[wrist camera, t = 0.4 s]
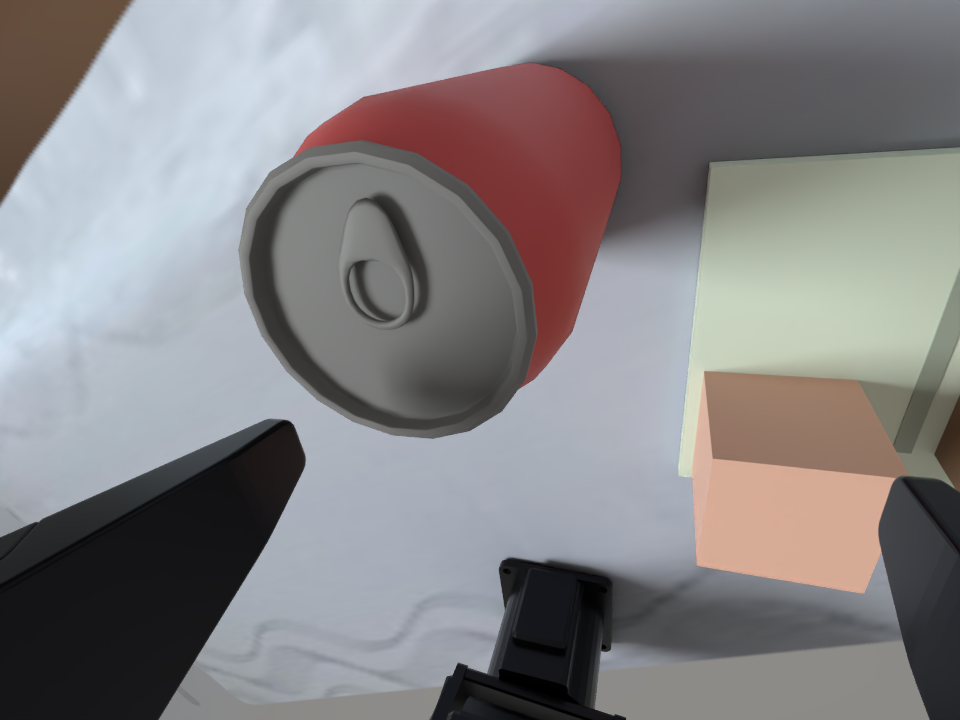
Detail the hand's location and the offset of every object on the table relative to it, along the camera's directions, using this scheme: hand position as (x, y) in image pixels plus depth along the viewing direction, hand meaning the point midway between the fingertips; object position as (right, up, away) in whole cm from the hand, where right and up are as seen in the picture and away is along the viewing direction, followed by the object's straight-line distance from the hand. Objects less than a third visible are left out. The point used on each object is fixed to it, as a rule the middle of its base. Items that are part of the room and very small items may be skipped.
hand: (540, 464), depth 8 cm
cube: (+10, -1, +12) cm, 16 cm away
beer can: (+1, +9, +11) cm, 14 cm away
